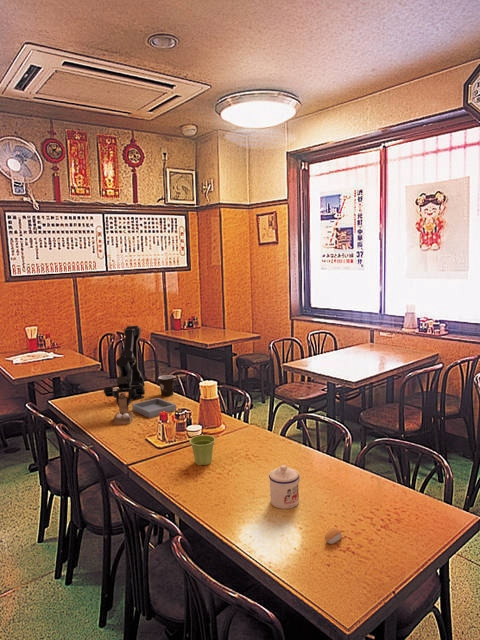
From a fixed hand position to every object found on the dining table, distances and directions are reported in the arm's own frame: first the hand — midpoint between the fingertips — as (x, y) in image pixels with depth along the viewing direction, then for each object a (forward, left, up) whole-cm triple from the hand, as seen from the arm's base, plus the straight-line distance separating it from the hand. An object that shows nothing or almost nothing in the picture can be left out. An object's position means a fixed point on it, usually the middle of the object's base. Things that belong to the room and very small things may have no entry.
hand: (123, 406), depth 228 cm
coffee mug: (-18, +36, -7) cm, 41 cm away
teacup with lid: (+106, +1, -7) cm, 106 cm away
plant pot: (+65, -1, -7) cm, 65 cm away
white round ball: (+3, 0, -4) cm, 5 cm away
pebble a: (+1, -3, -4) cm, 5 cm away
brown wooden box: (+1, -1, -7) cm, 7 cm away
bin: (-2, +17, -7) cm, 19 cm away
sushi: (+129, -5, -7) cm, 129 cm away
